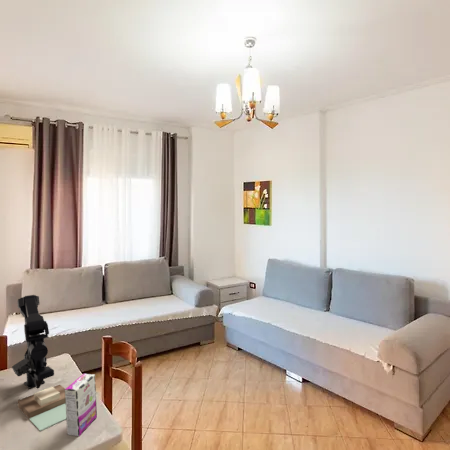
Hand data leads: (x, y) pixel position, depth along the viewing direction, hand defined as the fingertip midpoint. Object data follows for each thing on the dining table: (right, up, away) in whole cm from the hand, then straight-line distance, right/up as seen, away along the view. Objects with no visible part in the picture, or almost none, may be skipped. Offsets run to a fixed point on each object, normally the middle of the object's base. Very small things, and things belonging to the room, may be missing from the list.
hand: (37, 388), depth 143 cm
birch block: (+7, -2, -6) cm, 9 cm away
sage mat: (+14, -4, -12) cm, 19 cm away
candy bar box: (+25, -5, -19) cm, 32 cm away
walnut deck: (+6, -4, -5) cm, 8 cm away
